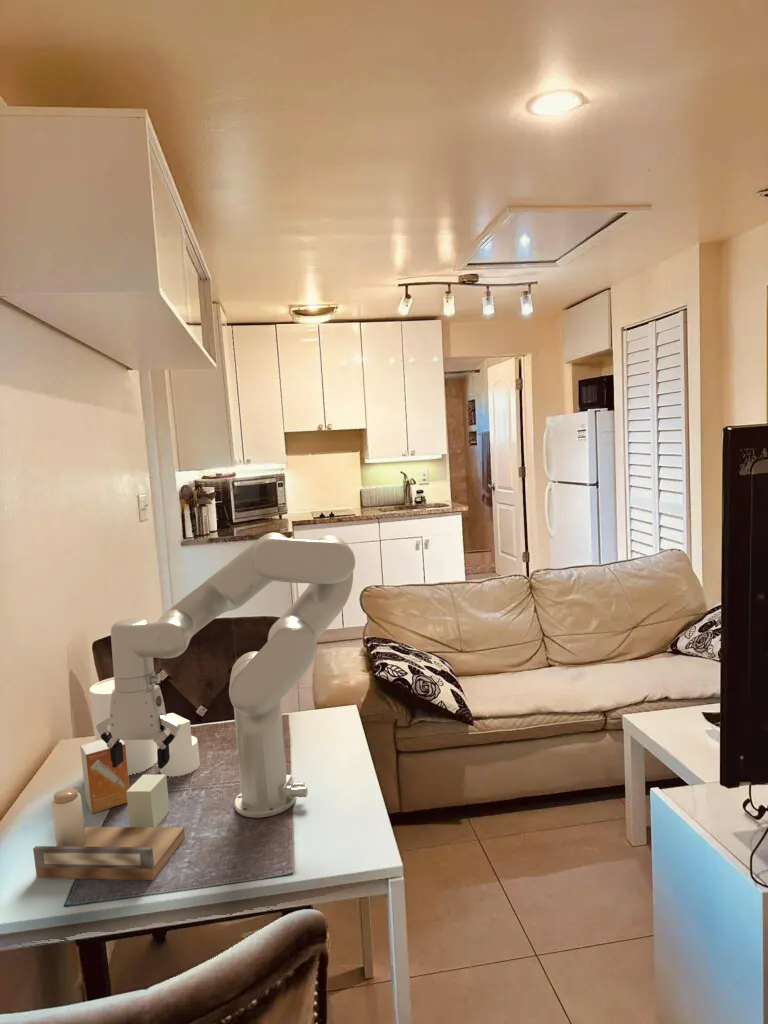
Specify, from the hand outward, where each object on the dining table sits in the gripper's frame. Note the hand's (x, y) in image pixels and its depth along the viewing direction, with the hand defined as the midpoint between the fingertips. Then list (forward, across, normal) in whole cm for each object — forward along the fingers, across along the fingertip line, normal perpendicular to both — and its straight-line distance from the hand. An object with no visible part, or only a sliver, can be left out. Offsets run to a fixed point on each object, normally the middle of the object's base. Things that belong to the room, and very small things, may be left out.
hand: (140, 765), depth 138 cm
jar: (+10, +8, +12) cm, 18 cm away
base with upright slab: (+12, +3, -23) cm, 26 cm away
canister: (+12, +17, -25) cm, 33 cm away
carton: (+12, -1, 0) cm, 12 cm away
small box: (+12, +12, -7) cm, 19 cm away
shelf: (+12, 0, +12) cm, 17 cm away
